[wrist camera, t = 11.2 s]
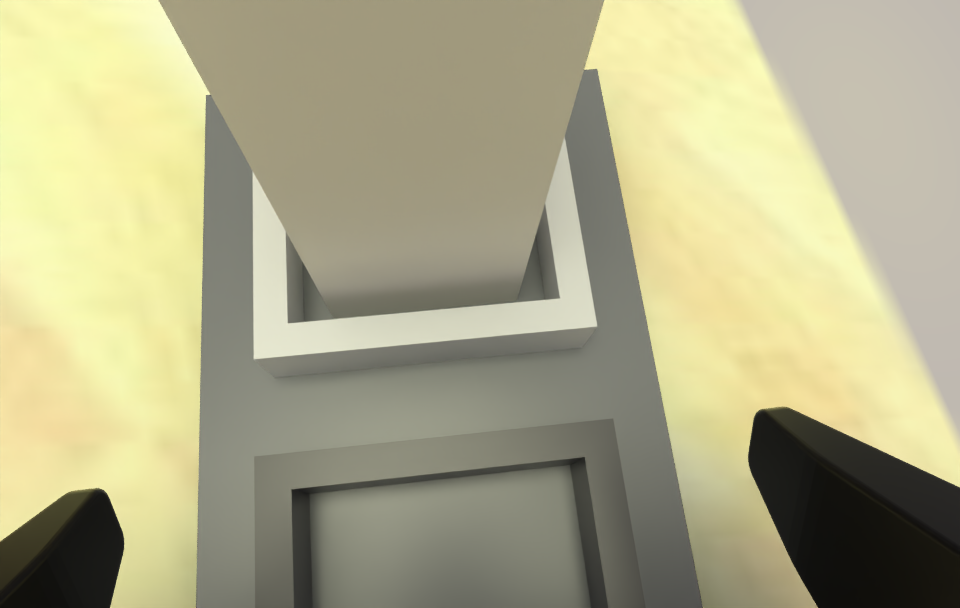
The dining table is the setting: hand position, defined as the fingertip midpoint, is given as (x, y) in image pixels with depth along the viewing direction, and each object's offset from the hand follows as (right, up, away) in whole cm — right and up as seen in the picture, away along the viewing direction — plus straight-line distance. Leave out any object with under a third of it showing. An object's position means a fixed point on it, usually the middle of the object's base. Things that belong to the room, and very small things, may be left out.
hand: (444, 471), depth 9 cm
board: (-1, -1, +9) cm, 9 cm away
